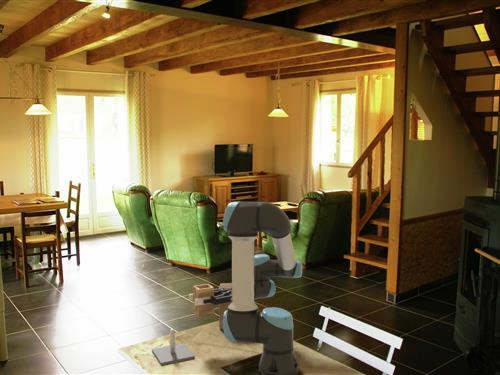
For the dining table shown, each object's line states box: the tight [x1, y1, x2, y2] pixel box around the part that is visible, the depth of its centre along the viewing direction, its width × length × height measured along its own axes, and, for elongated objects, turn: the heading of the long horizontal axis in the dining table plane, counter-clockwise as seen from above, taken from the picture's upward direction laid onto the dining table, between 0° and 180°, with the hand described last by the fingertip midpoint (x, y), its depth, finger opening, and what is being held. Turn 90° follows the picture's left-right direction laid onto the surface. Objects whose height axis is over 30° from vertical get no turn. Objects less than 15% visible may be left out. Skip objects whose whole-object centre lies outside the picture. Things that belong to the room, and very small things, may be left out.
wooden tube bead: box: [192, 283, 216, 319], centre depth 206 cm, size 7×7×12 cm
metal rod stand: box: [151, 328, 196, 366], centre depth 201 cm, size 15×14×11 cm
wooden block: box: [218, 282, 232, 330], centre depth 232 cm, size 10×10×20 cm
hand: (192, 299), depth 203 cm, fingers closed on wooden tube bead, 7 cm apart
